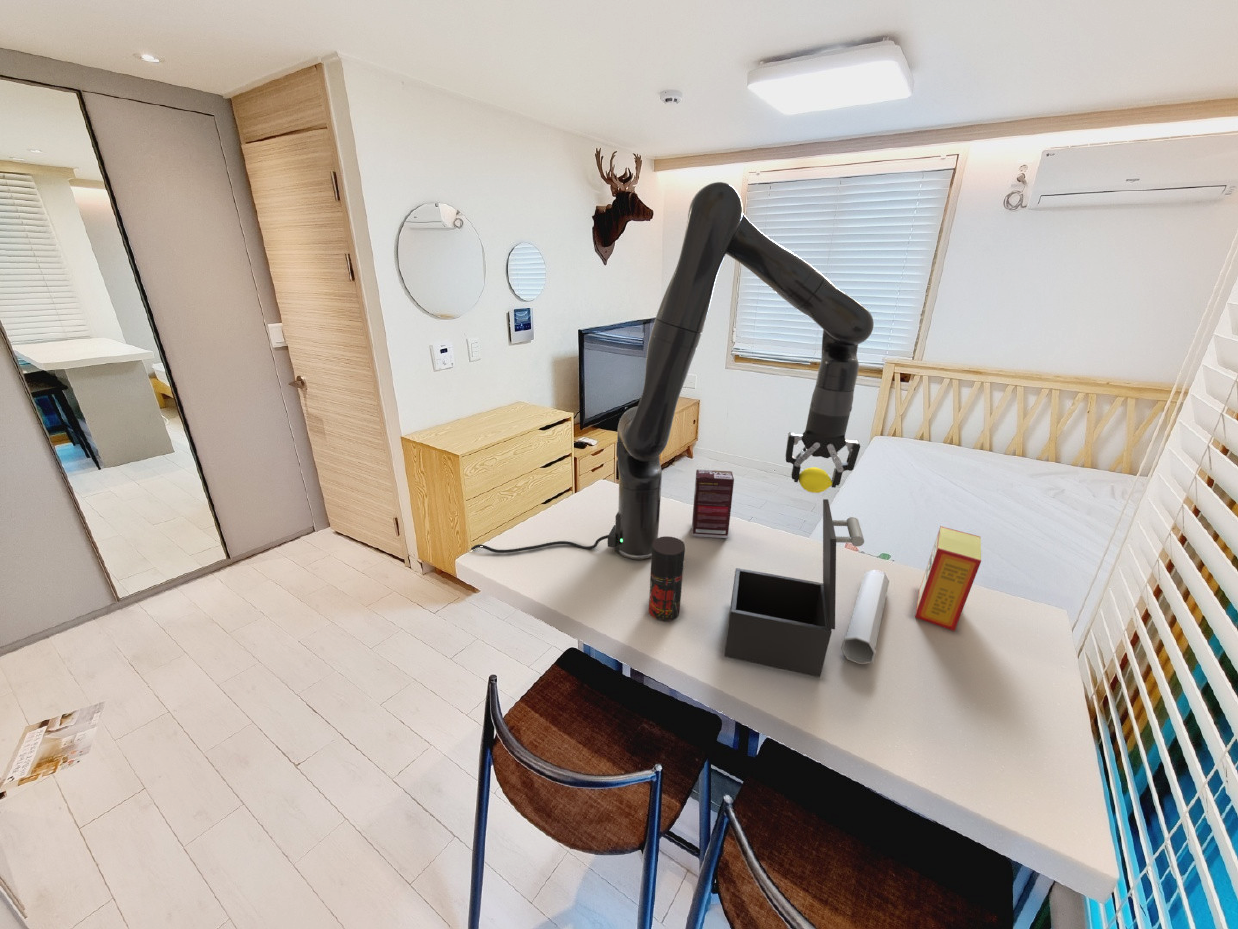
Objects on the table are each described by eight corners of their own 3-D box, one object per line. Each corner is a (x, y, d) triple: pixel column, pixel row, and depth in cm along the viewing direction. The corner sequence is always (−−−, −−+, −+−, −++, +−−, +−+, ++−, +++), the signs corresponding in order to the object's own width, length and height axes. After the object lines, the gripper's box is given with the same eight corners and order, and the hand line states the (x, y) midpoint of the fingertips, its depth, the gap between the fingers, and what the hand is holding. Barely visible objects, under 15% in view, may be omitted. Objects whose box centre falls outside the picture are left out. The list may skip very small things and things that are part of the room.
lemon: (793, 492, 106) (797, 469, 104) (797, 482, 111) (802, 460, 108) (827, 500, 103) (833, 477, 101) (831, 490, 108) (836, 467, 105)
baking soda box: (918, 591, 104) (940, 524, 97) (955, 603, 100) (981, 534, 94) (914, 617, 96) (938, 547, 90) (954, 631, 93) (981, 559, 86)
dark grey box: (724, 656, 86) (730, 611, 82) (730, 609, 97) (735, 567, 93) (820, 677, 83) (831, 631, 79) (814, 626, 94) (824, 583, 90)
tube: (861, 564, 105) (838, 635, 86) (889, 565, 102) (873, 639, 82) (864, 586, 106) (843, 662, 87) (893, 588, 103) (877, 667, 84)
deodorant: (643, 605, 98) (646, 540, 92) (670, 597, 100) (675, 533, 94) (657, 625, 93) (661, 557, 87) (685, 616, 95) (691, 550, 89)
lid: (830, 538, 72) (868, 539, 71) (823, 499, 83) (855, 498, 82) (829, 629, 78) (864, 631, 77) (822, 581, 90) (853, 582, 88)
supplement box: (725, 528, 124) (733, 470, 118) (727, 539, 120) (735, 479, 113) (690, 526, 125) (695, 468, 119) (691, 536, 121) (696, 477, 114)
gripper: (866, 407, 101) (848, 481, 108) (791, 399, 104) (778, 471, 111) (872, 418, 94) (852, 496, 101) (792, 410, 98) (778, 486, 105)
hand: (814, 483), depth 106 cm, fingers closed on lemon, 7 cm apart
